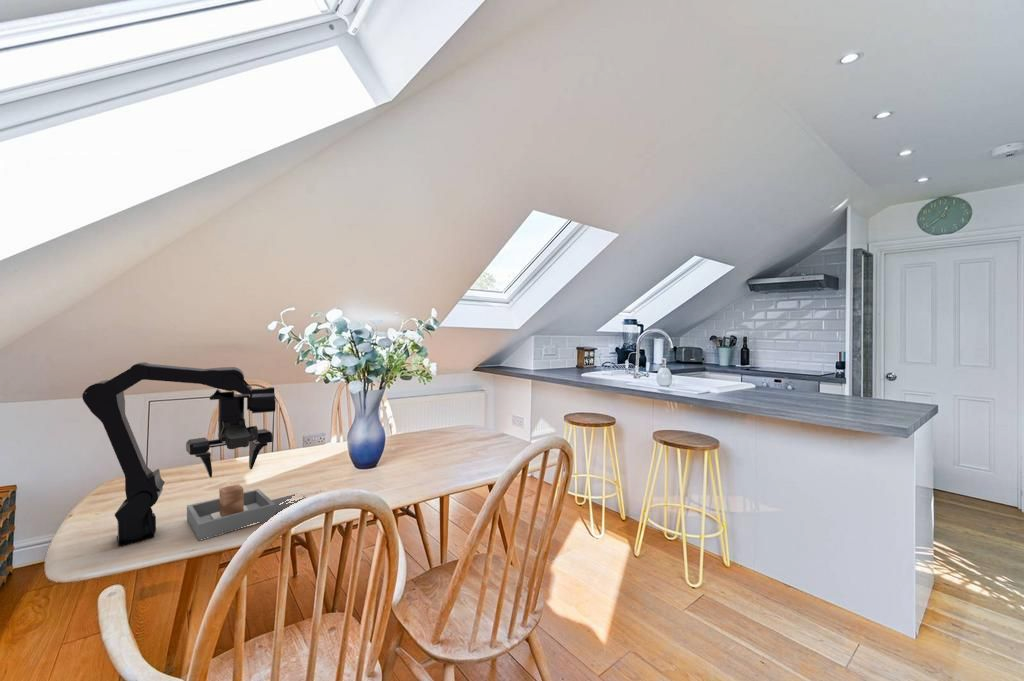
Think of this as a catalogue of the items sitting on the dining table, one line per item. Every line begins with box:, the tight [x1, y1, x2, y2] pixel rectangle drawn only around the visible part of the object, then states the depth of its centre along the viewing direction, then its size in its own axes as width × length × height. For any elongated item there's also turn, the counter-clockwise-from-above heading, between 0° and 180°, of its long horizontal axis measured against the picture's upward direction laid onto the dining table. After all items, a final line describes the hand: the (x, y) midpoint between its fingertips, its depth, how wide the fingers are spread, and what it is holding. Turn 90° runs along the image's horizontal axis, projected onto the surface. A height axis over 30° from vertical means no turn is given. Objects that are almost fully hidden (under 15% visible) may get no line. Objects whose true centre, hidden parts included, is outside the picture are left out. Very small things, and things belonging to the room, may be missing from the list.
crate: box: [186, 488, 277, 541], centre depth 114 cm, size 17×15×4 cm
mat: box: [270, 492, 305, 514], centre depth 124 cm, size 10×10×1 cm
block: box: [218, 483, 244, 517], centre depth 114 cm, size 4×4×7 cm
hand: (231, 472), depth 114 cm, fingers open, 9 cm apart
